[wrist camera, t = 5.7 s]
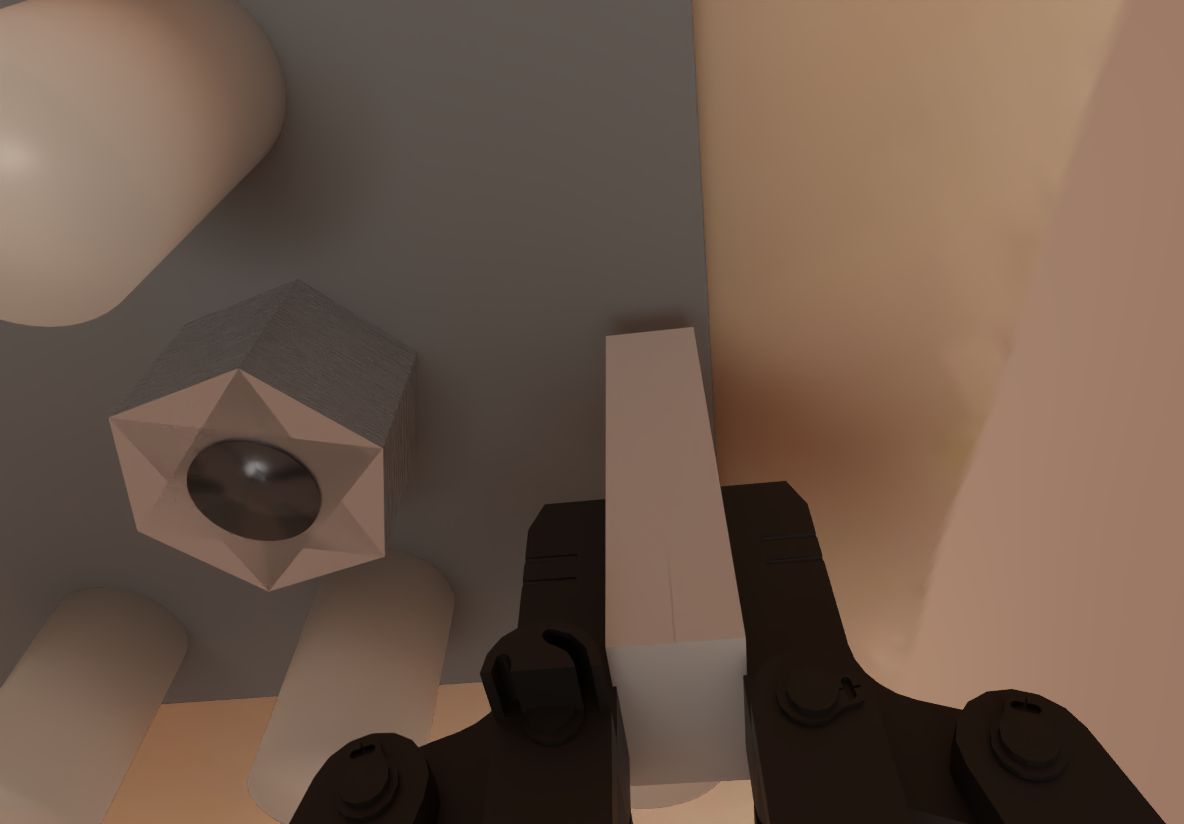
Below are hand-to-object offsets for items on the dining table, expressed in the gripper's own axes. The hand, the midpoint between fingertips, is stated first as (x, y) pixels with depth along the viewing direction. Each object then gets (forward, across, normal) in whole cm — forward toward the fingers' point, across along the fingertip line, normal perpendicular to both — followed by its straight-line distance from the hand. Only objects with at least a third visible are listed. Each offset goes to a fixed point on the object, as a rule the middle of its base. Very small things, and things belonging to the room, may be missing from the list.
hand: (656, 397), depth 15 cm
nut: (+1, -7, 0) cm, 7 cm away
